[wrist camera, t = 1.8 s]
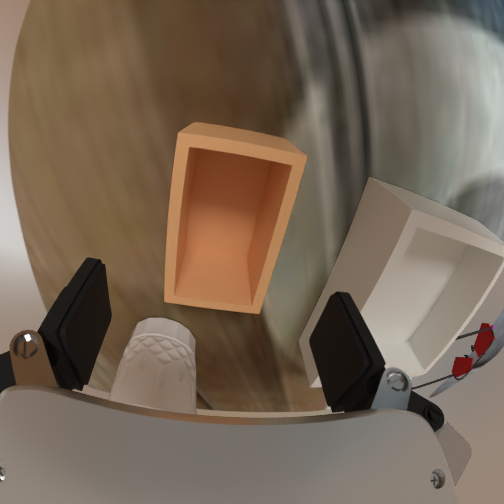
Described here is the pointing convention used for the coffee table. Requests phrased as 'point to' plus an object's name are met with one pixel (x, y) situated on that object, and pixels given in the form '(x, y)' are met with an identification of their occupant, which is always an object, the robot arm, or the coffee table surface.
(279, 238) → the orange crate
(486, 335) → the glasses
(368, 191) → the box
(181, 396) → the white cup
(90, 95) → the coffee table surface
